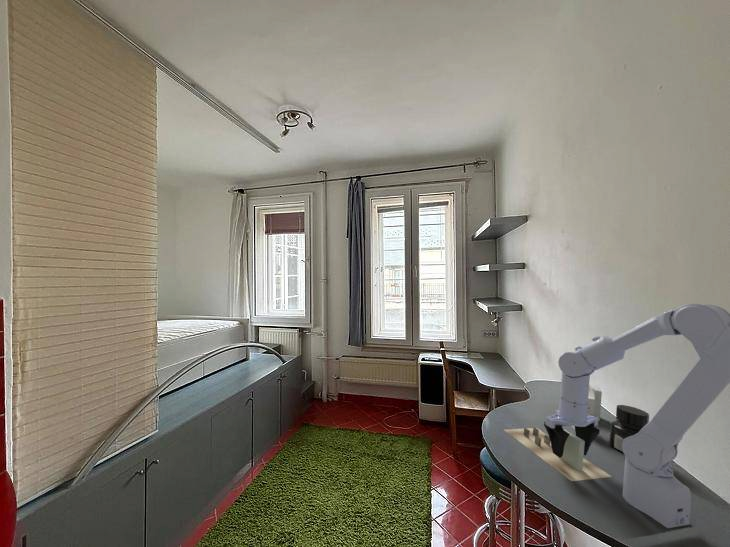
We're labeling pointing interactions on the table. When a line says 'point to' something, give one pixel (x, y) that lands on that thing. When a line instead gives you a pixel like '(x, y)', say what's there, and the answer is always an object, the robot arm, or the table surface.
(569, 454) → the pale green flat block
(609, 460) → the table surface
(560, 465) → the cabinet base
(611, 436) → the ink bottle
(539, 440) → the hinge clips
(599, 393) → the small box
